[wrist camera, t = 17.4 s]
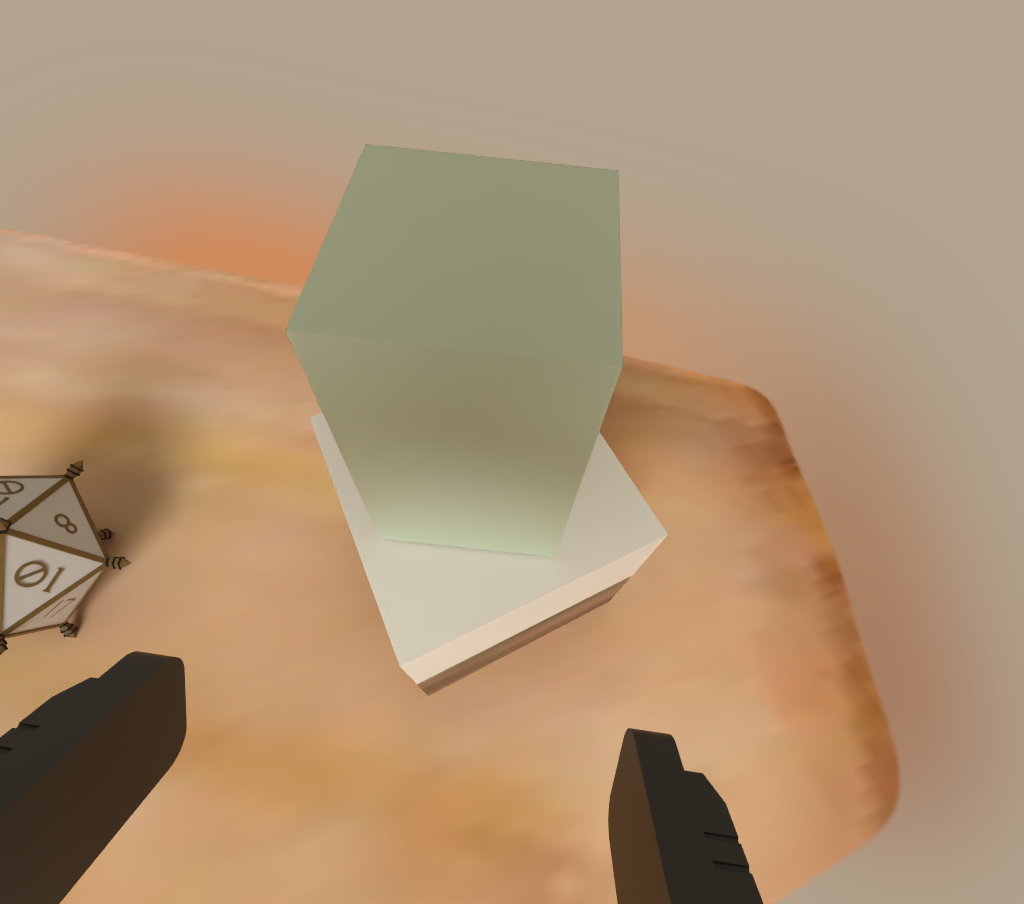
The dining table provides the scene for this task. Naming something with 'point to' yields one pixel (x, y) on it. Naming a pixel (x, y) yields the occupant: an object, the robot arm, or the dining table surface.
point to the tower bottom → (517, 640)
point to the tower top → (494, 567)
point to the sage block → (466, 341)
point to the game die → (46, 553)
